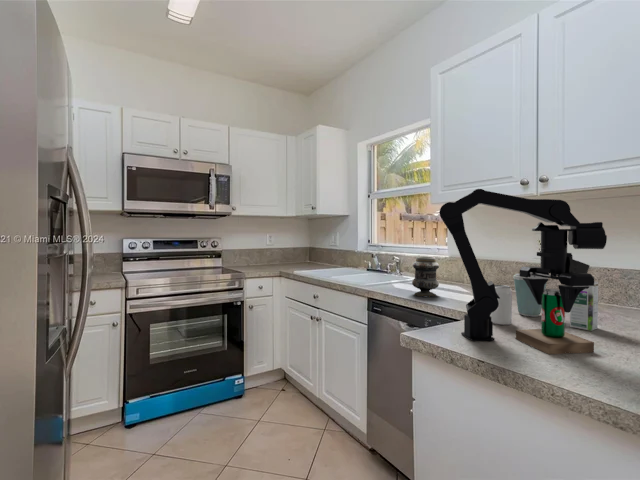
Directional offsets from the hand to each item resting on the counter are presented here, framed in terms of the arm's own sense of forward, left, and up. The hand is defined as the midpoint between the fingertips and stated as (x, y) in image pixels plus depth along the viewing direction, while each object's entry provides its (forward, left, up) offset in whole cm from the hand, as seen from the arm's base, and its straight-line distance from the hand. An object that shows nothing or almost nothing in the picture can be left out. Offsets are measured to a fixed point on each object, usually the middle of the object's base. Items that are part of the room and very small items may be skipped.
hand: (552, 308), depth 89 cm
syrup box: (+22, +14, -10) cm, 28 cm away
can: (0, +22, -10) cm, 24 cm away
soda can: (0, 0, -7) cm, 7 cm away
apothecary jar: (-5, +71, -10) cm, 72 cm away
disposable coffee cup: (+17, +31, -10) cm, 37 cm away
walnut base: (0, 0, -10) cm, 10 cm away
